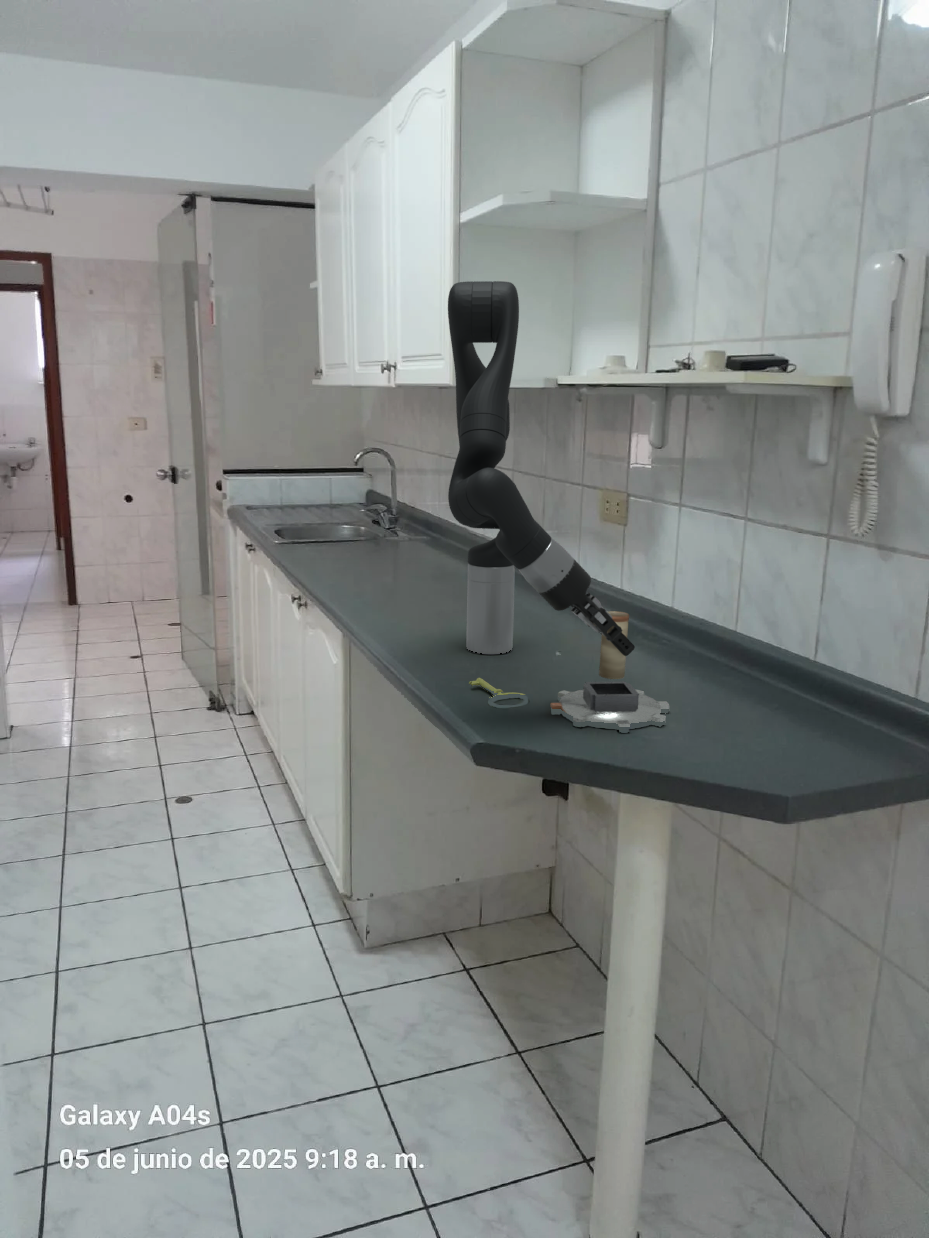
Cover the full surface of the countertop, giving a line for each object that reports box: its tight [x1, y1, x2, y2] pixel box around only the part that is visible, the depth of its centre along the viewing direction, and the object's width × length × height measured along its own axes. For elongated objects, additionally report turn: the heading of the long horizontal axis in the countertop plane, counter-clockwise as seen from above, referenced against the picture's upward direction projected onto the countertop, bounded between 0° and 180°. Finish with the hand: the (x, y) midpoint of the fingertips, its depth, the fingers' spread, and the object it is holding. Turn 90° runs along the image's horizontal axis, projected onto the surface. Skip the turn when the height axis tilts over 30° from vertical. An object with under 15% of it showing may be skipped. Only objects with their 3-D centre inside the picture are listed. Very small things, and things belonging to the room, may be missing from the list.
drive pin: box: [598, 610, 630, 680], centre depth 149 cm, size 4×4×10 cm
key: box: [468, 677, 526, 698], centre depth 158 cm, size 7×12×2 cm, turn 48°
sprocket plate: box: [549, 681, 670, 727], centre depth 151 cm, size 19×19×4 cm
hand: (624, 647), depth 150 cm, fingers closed on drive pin, 4 cm apart
